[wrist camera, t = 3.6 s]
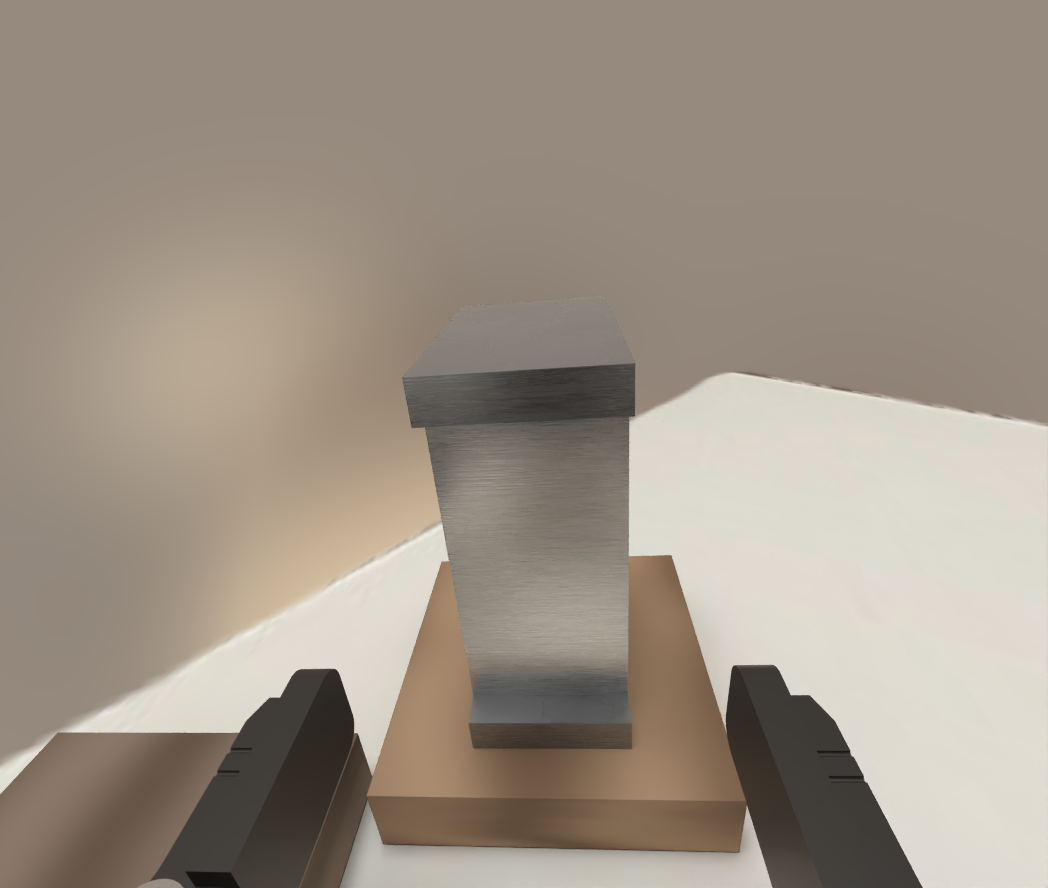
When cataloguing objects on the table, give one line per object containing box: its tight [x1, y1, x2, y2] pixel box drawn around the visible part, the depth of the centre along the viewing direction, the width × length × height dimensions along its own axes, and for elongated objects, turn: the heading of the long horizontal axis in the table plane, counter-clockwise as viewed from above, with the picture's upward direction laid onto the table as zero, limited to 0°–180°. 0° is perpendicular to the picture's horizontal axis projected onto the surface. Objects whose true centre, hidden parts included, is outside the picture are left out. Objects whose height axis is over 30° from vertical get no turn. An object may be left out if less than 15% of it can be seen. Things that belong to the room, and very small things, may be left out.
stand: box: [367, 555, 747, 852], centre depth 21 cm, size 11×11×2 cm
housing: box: [402, 296, 635, 749], centre depth 17 cm, size 5×8×12 cm, turn 176°
